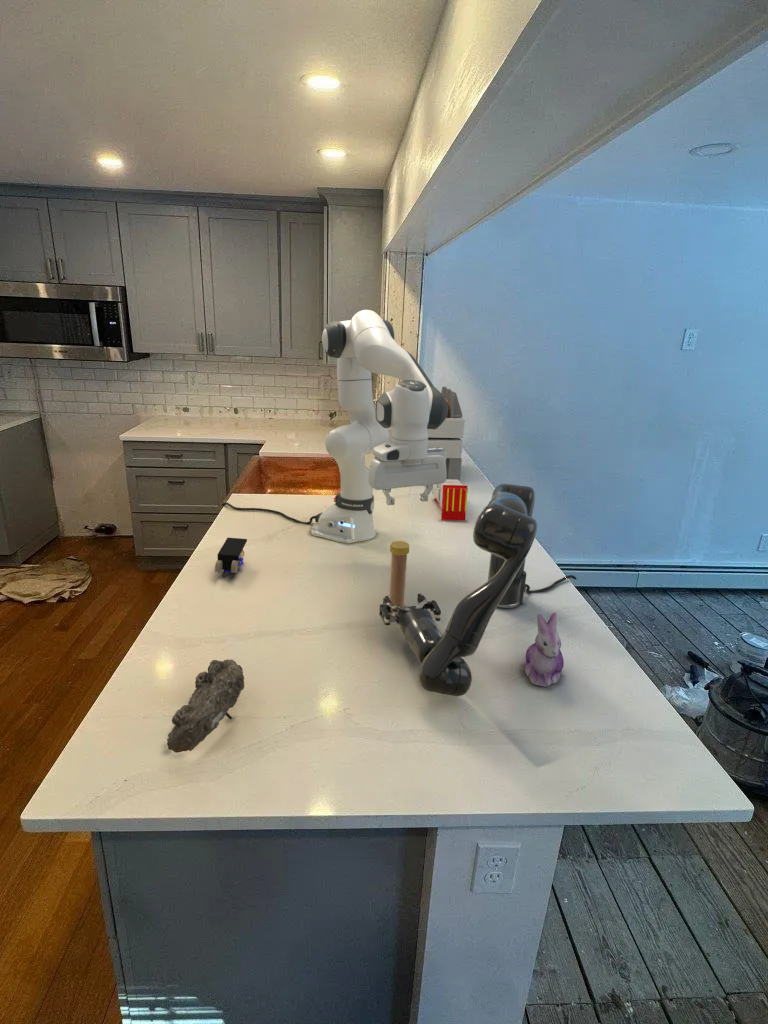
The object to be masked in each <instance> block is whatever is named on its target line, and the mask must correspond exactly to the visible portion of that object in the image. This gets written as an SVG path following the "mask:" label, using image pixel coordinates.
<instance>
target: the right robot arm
mask: <svg viewBox="0 0 768 1024" xmlns="http://www.w3.org/2000/svg"><path fill="white" fill-rule="evenodd" d="M535 503H536V492H535V489H534V487H532V486H529V485H519V484H511V483H510V484H509V483H500V484H498V485H496V487H494V489H493V492H492V495H491V499H490V500H489V502H488V503H487V505H486V506H485V507H484V508H483V510H482V511H481V512H480V514H479V515H478V517H477V519H476V521H475V523H474V526H473V530H472V531H473V532H472V539H473V540H472V541H473V543H474V545H475V546H476V547H477V548H479V549H480V550H482V551H484V552H486V553H489V554H490V557H489V558H490V559H489V566H488V574H487V575H488V576H487V580H486V582H484V583H483V584H481V585H480V586H478V587H477V588H475V589H474V590H472V591H471V592H470V593H468V594H467V595H465V596H464V597H463V598H462V599H461V600H459V602H458V603H457V605H456V606H455V607H454V610H453V612H452V613H451V616H450V619H449V621H448V624H447V626H446V628H445V630H444V632H443V634H442V633H441V631H440V628H439V627H438V625H437V624H436V622H440V621H441V619H442V618H441V617H442V610H441V608H440V606H439V604H438V603H437V601H436V600H434V599H432V600H431V601H429V599H427V598H426V596H425V595H423V594H422V593H421V592H419V593H417V597H416V601H417V603H418V605H411V606H404V607H403V606H401V605H398V604H396V605H394V604H392V603H391V601H390V599H389V595H385V596H384V597H383V598H382V600H383V601H382V604H379V611H378V613H379V614H378V615H379V617H380V619H381V620H382V622H383V624H384V625H385V626H386V627H387V626H388V627H389V626H391V623H396V624H397V625H399V626H400V629H401V631H402V634H403V636H404V637H405V641H406V642H407V643H408V646H409V647H410V649H411V650H412V651H413V653H414V655H415V657H416V659H417V661H418V663H419V664H420V666H419V670H418V682H419V684H420V686H421V687H422V689H423V690H424V691H427V692H429V693H435V694H440V695H444V696H446V695H447V696H451V697H461V696H462V697H463V696H464V695H466V694H467V693H468V692H469V691H470V689H471V687H472V684H473V683H472V682H473V674H472V671H471V667H470V666H469V664H468V663H467V662H466V660H465V659H464V657H471V656H473V655H474V654H475V653H476V651H477V649H478V647H479V646H480V643H481V642H482V639H483V636H484V634H485V632H486V629H487V627H488V625H489V622H490V620H491V619H492V616H494V615H493V614H494V613H495V611H496V609H497V608H500V609H514V608H516V607H518V606H520V605H523V602H524V594H525V593H526V594H527V593H528V594H536V593H537V594H538V593H543V592H546V591H549V590H552V589H553V588H554V587H556V586H557V585H558V584H561V583H562V582H564V581H566V580H568V579H573V580H577V577H576V575H574V574H569V575H568V574H567V575H566V576H564V577H562V578H560V579H558V580H556V581H554V582H553V583H552V584H551V585H549V586H546V587H544V588H540V589H535V590H531V586H530V585H529V584H528V583H526V580H527V571H525V565H526V558H527V556H528V554H529V552H530V550H531V548H532V546H533V544H534V542H535V539H536V535H537V531H538V523H537V520H536V519H535V518H534V517H533V513H534V508H535ZM565 577H566V578H567V579H566V578H565ZM391 608H392V609H393V611H391ZM398 610H400V611H399V612H398ZM435 621H436V622H435Z"/></svg>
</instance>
